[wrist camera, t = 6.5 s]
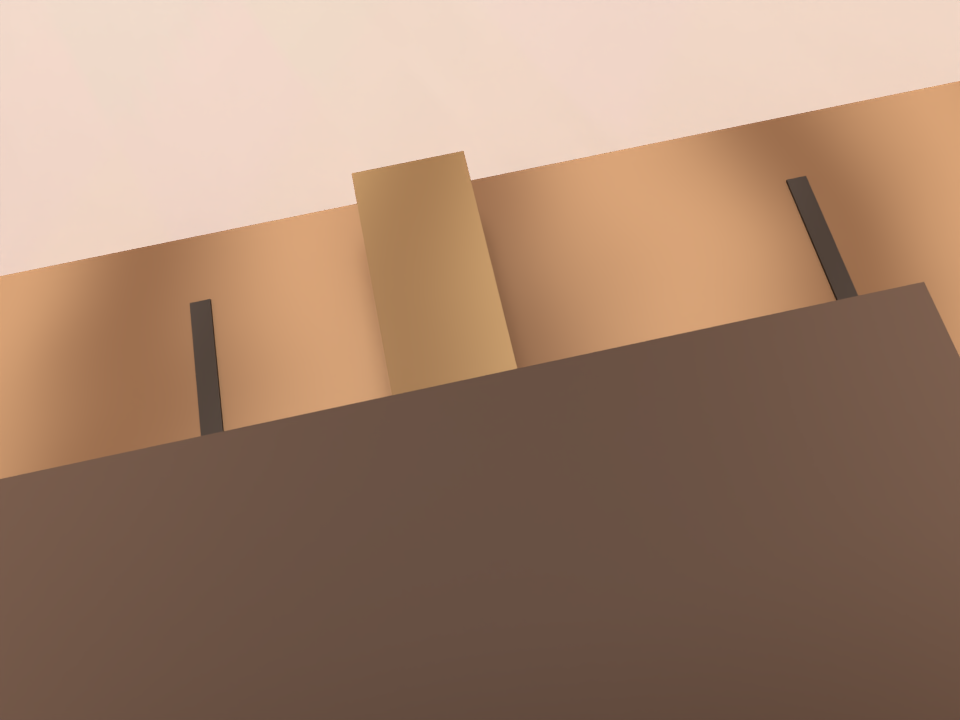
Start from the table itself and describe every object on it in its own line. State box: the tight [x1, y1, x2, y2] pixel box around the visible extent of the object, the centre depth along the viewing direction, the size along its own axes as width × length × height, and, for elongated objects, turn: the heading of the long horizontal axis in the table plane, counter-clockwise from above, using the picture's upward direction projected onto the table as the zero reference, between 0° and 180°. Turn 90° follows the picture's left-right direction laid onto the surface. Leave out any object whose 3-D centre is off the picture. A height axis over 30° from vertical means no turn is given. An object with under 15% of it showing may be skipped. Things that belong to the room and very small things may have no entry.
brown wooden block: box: [0, 151, 960, 720], centre depth 10 cm, size 4×12×13 cm, turn 12°
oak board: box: [0, 81, 960, 479], centre depth 16 cm, size 36×8×3 cm, turn 102°
